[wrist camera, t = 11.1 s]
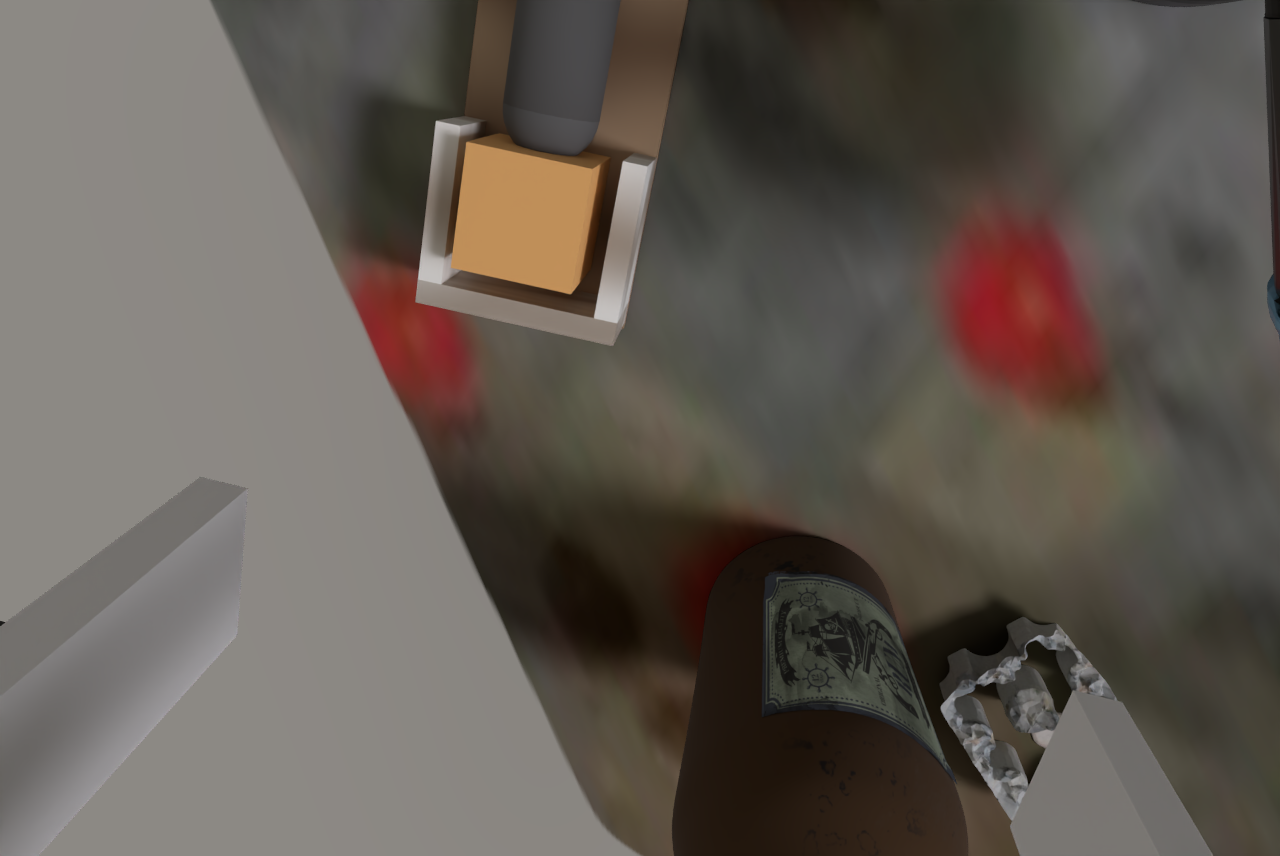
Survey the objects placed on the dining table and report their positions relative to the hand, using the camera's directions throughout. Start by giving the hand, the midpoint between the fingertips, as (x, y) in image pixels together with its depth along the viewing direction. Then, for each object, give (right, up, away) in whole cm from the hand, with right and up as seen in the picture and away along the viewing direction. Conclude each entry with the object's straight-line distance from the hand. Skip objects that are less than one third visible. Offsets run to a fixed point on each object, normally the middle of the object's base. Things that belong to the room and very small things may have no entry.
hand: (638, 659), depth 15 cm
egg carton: (+20, -11, +35) cm, 42 cm away
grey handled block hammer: (-2, +22, +24) cm, 33 cm away
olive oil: (+8, -6, +34) cm, 36 cm away
